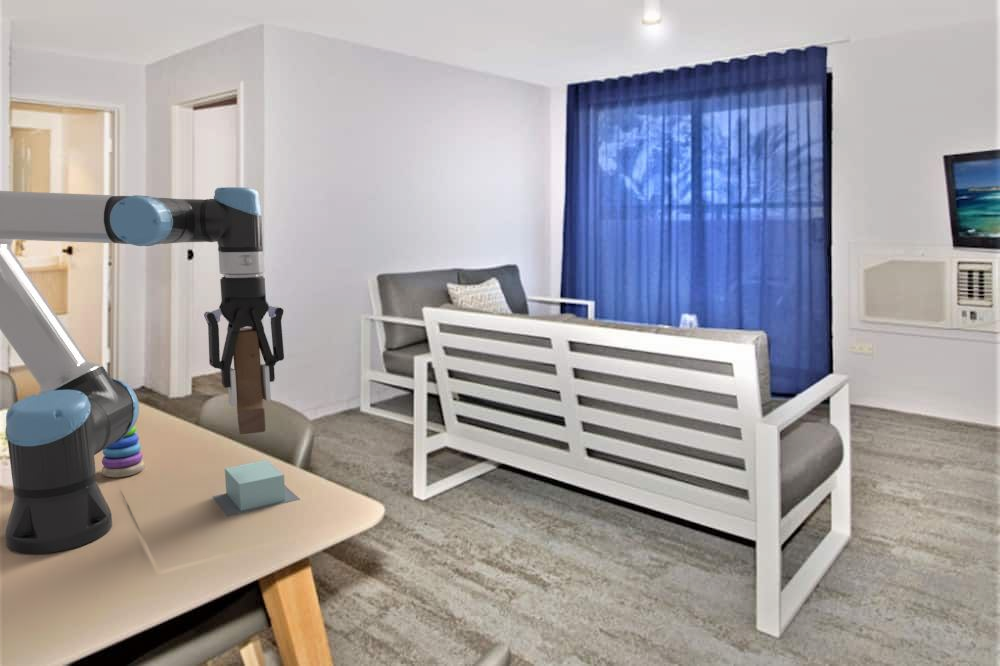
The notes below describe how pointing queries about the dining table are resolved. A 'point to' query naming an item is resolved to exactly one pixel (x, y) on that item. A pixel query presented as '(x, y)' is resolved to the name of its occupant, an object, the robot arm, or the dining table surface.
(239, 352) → the wooden block
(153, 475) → the dining table surface
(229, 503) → the mat
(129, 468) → the stacking toy
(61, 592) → the dining table surface
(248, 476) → the plinth
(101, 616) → the dining table surface
